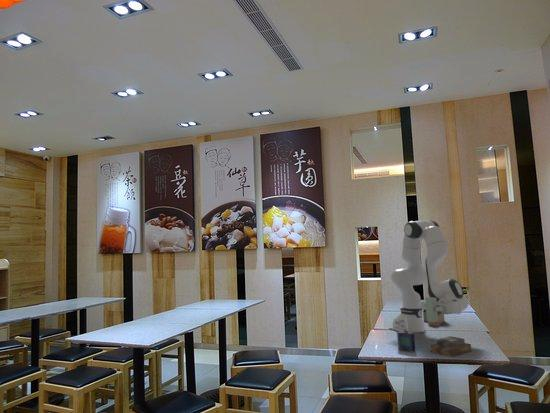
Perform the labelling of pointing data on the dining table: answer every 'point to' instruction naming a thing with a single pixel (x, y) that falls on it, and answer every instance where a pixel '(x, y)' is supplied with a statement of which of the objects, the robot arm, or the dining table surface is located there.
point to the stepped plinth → (451, 350)
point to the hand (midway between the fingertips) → (430, 308)
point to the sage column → (431, 309)
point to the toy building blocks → (440, 318)
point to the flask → (406, 341)
